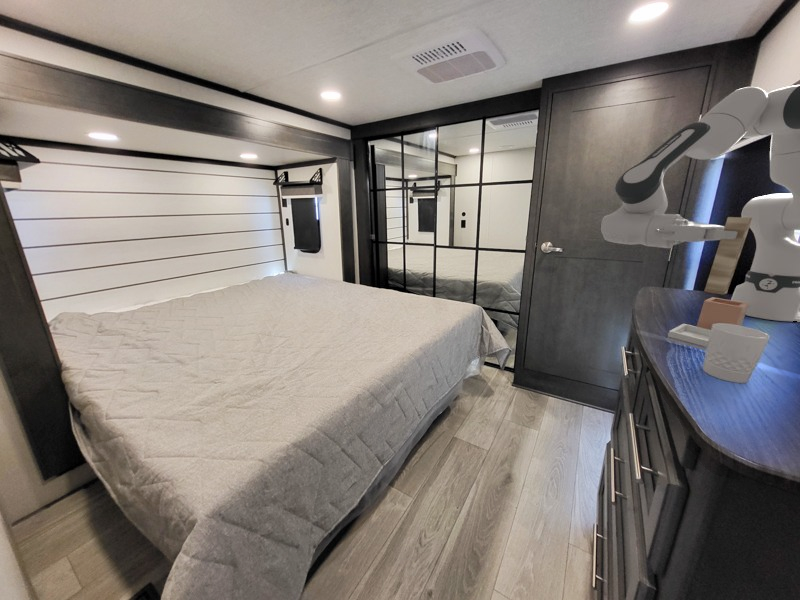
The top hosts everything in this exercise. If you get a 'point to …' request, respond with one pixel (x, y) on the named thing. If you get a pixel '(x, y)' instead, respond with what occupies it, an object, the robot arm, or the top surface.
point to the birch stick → (727, 256)
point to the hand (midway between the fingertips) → (739, 235)
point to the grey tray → (690, 336)
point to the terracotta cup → (721, 312)
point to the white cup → (733, 352)
